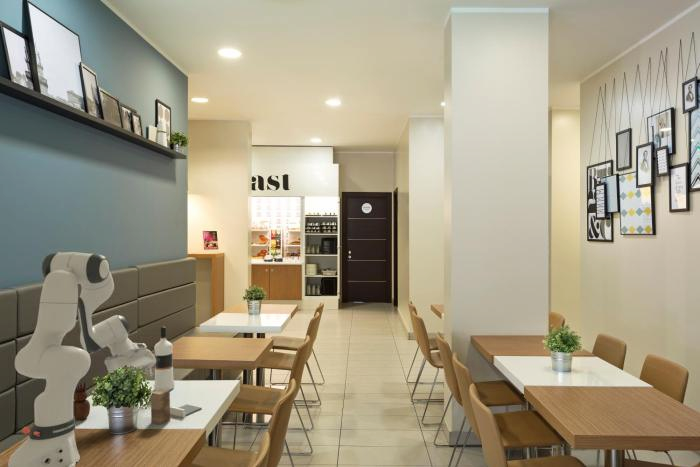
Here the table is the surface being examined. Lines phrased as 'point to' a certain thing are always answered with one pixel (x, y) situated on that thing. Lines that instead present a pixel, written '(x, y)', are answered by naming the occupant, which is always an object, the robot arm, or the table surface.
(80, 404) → the wooden figurine
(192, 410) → the coaster
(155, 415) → the walnut block
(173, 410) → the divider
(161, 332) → the vodka
